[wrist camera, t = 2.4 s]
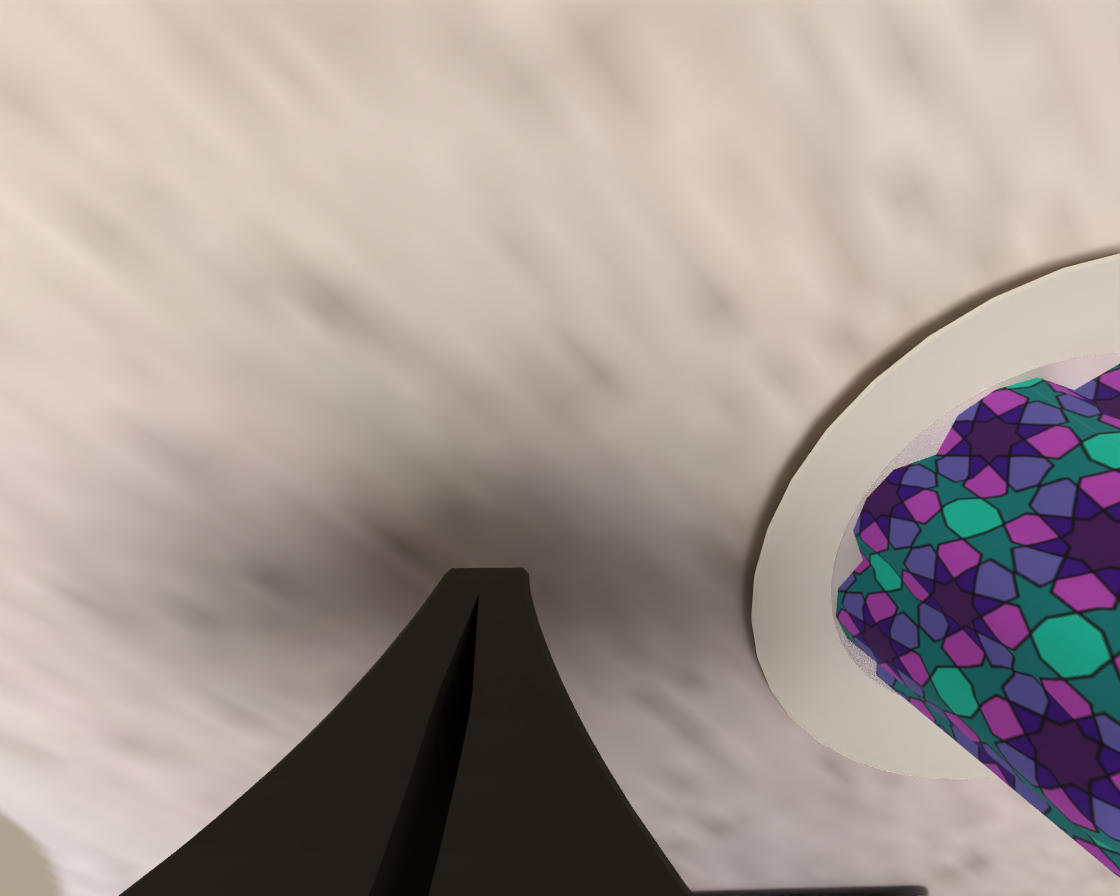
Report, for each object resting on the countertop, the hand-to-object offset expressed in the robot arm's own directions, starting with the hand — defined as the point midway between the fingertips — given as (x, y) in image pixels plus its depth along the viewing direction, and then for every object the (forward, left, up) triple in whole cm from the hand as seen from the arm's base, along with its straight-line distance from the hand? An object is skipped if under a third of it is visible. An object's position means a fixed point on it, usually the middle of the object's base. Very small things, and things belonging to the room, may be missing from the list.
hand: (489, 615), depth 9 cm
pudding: (0, -11, -2) cm, 11 cm away
